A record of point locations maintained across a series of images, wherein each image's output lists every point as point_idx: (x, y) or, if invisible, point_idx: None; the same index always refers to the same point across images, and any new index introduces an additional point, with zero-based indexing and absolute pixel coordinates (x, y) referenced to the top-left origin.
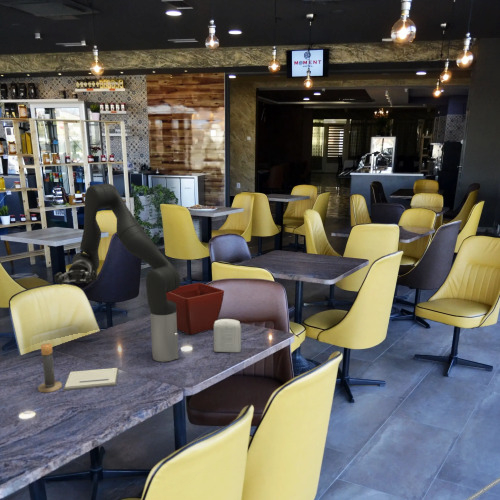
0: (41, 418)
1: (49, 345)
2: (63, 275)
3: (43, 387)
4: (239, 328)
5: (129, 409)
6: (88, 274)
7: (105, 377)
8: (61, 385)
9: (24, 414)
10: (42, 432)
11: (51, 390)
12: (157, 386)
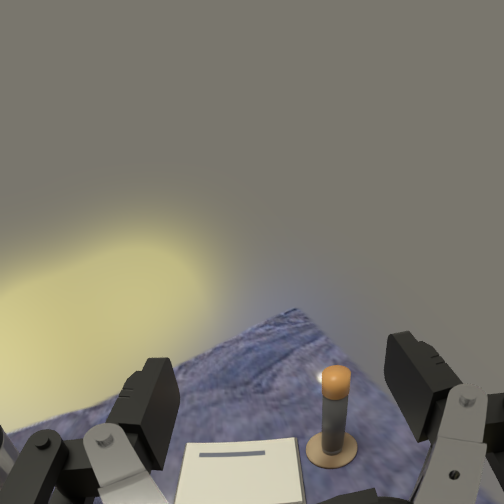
0: (304, 371)
1: (327, 373)
2: (445, 404)
3: (344, 442)
4: None
5: None
6: (117, 425)
7: (206, 464)
8: (306, 449)
9: None
10: (290, 350)
11: (320, 432)
12: None
